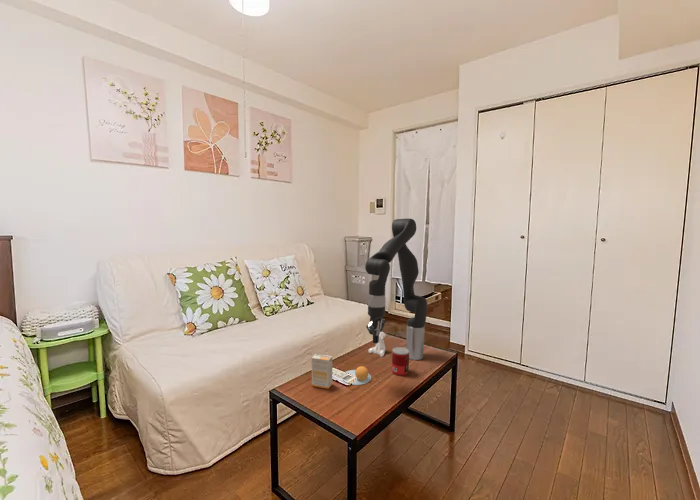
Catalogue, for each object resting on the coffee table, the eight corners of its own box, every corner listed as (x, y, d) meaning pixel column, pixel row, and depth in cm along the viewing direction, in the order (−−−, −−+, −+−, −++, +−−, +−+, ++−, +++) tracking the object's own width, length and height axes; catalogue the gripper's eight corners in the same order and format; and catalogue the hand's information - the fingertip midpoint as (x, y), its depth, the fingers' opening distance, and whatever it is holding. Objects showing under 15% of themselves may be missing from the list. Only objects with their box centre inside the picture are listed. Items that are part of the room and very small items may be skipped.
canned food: (408, 377, 152) (409, 354, 151) (391, 375, 154) (391, 352, 153) (408, 369, 160) (409, 348, 158) (392, 367, 161) (392, 346, 160)
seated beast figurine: (367, 352, 179) (367, 331, 178) (375, 347, 186) (376, 327, 185) (382, 357, 173) (382, 335, 172) (390, 352, 180) (390, 331, 179)
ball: (372, 371, 149) (366, 380, 151) (363, 362, 152) (357, 371, 153) (366, 375, 144) (359, 384, 146) (356, 365, 147) (350, 375, 148)
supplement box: (332, 384, 144) (333, 355, 143) (328, 389, 140) (328, 360, 138) (315, 381, 147) (316, 353, 146) (311, 386, 142) (311, 357, 141)
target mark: (352, 367, 161) (352, 367, 161) (376, 375, 153) (376, 375, 153) (335, 378, 149) (335, 378, 149) (360, 388, 141) (360, 387, 141)
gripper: (377, 300, 149) (376, 336, 151) (361, 306, 138) (360, 345, 140) (391, 302, 145) (390, 340, 146) (376, 309, 134) (375, 349, 136)
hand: (375, 342), depth 143 cm, fingers closed
